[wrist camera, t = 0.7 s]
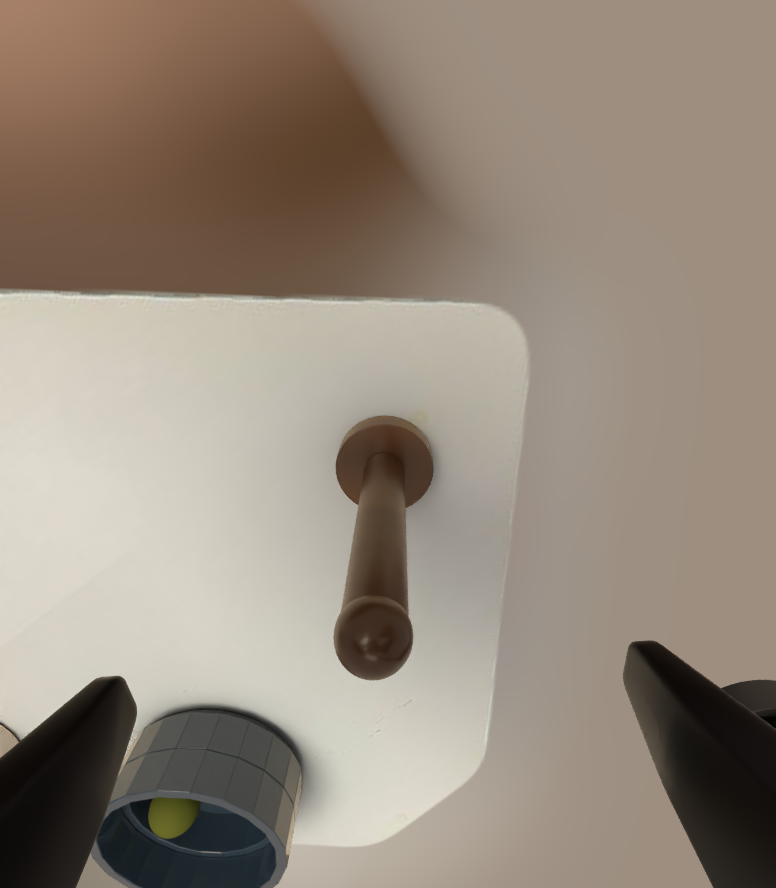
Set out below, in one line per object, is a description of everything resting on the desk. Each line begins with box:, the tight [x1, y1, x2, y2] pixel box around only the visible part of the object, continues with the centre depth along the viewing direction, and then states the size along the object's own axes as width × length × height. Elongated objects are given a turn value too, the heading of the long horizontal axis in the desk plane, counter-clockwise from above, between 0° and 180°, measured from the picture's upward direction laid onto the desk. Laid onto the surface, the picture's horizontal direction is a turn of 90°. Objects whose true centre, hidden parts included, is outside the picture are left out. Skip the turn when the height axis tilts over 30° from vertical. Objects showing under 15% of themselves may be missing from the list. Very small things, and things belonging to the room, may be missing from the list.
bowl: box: [91, 709, 302, 888], centre depth 28 cm, size 11×11×5 cm
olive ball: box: [148, 797, 201, 839], centre depth 28 cm, size 3×3×3 cm
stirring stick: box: [334, 416, 433, 680], centre depth 16 cm, size 4×4×12 cm
